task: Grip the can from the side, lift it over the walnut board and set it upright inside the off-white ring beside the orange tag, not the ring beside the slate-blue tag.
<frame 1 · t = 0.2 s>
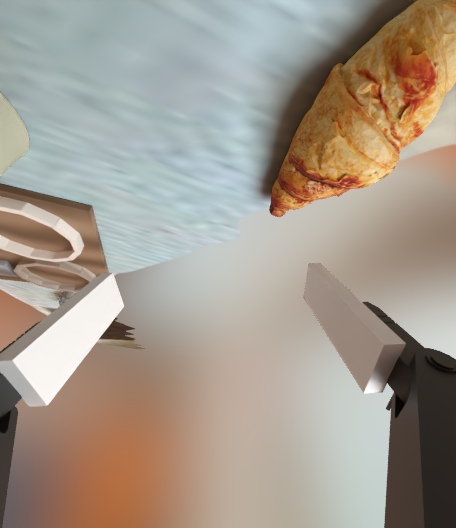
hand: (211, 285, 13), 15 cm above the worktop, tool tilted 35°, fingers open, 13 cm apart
croissant: (346, 122, 18), on the worktop
walnut board: (51, 250, 34), on the worktop
egg carton: (87, 296, 54), on the worktop
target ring: (34, 225, 29), resting on walnut board
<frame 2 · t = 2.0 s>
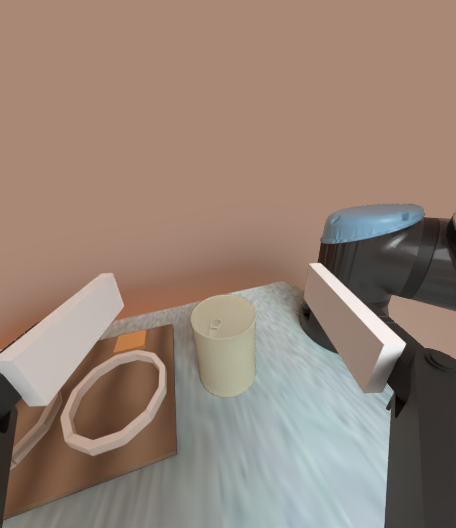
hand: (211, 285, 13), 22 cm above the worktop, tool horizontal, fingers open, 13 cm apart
walnut board: (67, 416, 26), on the worktop
can: (227, 368, 31), on the worktop
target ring: (123, 399, 28), resting on walnut board
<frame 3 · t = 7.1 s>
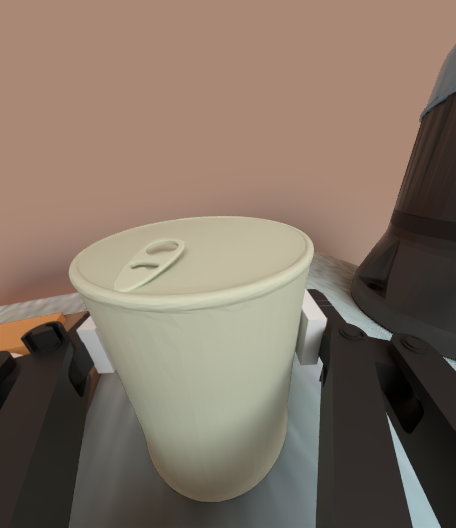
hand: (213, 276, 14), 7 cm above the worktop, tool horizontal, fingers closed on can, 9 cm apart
can: (217, 400, 13), on the worktop, touching gripper
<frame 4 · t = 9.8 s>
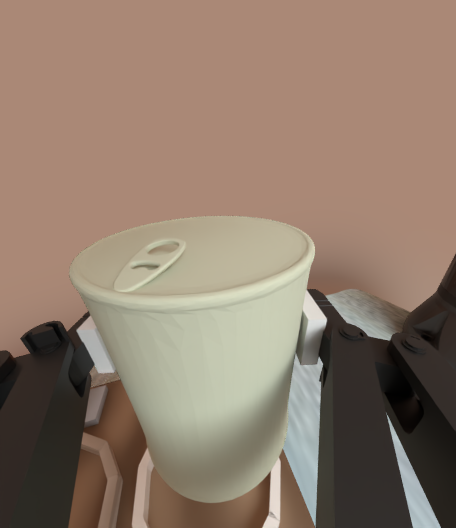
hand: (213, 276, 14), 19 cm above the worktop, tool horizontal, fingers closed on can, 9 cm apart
walnut board: (132, 507, 17), on the worktop
can: (217, 400, 13), point 12 cm above the worktop, touching gripper
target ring: (211, 475, 18), resting on walnut board
when the fingers open (9 cm above the worktop, at t = 12.7 s): can drops 1 cm, resting on walnut board.
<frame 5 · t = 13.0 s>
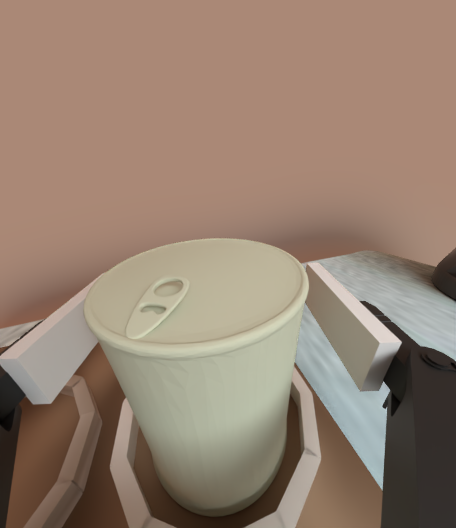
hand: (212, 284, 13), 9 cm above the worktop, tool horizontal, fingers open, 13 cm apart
walnut board: (114, 455, 12), on the worktop
can: (219, 413, 14), point 1 cm above the worktop, touching walnut board
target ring: (219, 418, 14), resting on walnut board
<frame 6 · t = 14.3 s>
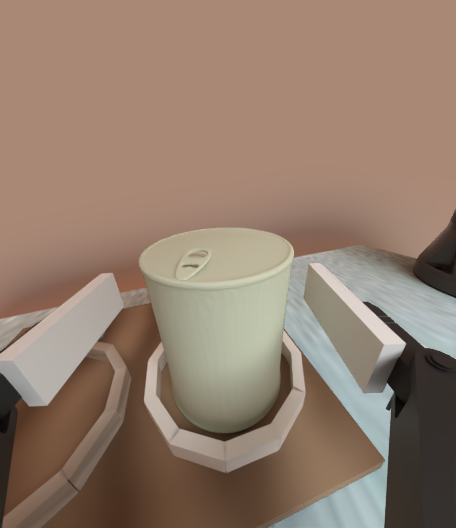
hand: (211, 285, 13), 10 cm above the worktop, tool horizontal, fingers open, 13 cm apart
walnut board: (142, 401, 16), on the worktop
can: (226, 371, 17), point 1 cm above the worktop, touching walnut board
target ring: (226, 375, 17), resting on walnut board
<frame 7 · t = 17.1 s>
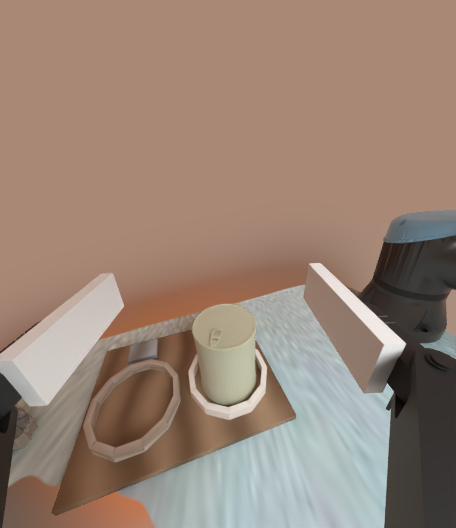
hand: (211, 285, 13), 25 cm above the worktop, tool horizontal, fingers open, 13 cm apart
walnut board: (186, 392, 31), on the worktop
can: (228, 376, 32), point 1 cm above the worktop, touching walnut board
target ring: (228, 378, 33), resting on walnut board
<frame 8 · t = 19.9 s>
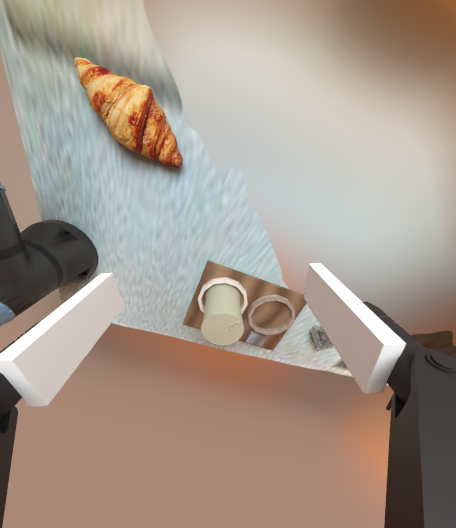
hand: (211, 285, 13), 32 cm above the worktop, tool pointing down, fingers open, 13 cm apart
croissant: (139, 119, 35), on the worktop
walnut board: (247, 304, 53), on the worktop
can: (223, 297, 51), point 1 cm above the worktop, touching walnut board
egg carton: (327, 329, 58), on the worktop
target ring: (223, 296, 52), resting on walnut board
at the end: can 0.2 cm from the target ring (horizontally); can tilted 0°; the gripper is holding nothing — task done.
